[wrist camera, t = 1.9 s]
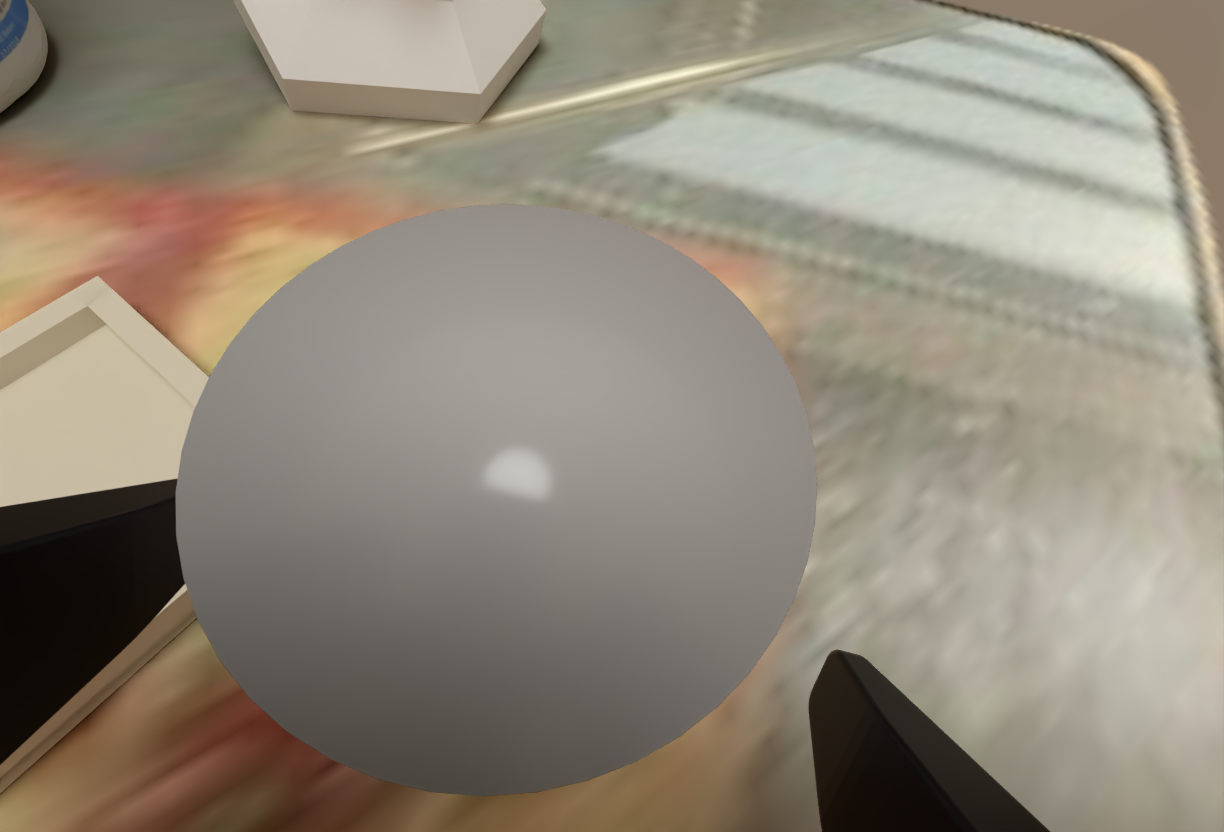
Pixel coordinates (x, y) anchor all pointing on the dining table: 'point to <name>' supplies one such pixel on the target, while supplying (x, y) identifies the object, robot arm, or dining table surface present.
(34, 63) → the supplement tub
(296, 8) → the white faceted sculpture
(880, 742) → the robot arm
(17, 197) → the dining table surface
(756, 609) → the salt shaker
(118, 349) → the tray
